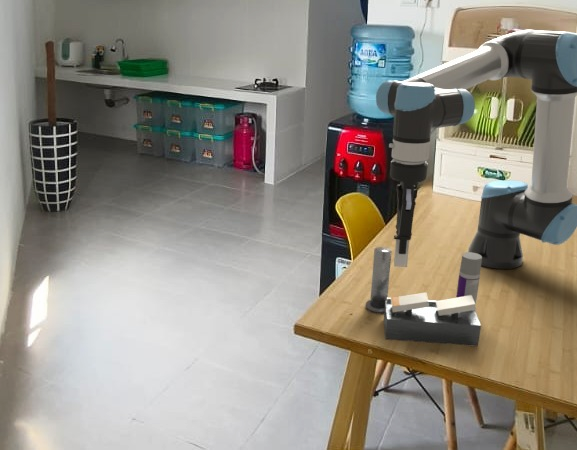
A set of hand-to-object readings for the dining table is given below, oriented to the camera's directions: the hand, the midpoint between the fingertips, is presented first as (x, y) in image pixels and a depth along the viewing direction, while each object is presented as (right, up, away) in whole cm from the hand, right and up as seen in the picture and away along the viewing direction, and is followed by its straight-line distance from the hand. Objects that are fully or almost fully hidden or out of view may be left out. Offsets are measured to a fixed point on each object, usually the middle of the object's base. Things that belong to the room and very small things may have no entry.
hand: (400, 265), depth 139 cm
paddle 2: (+12, -9, +2) cm, 15 cm away
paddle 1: (+2, -8, +3) cm, 9 cm away
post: (-3, -11, +15) cm, 19 cm away
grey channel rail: (+7, -15, +5) cm, 18 cm away
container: (+18, -13, +14) cm, 26 cm away
